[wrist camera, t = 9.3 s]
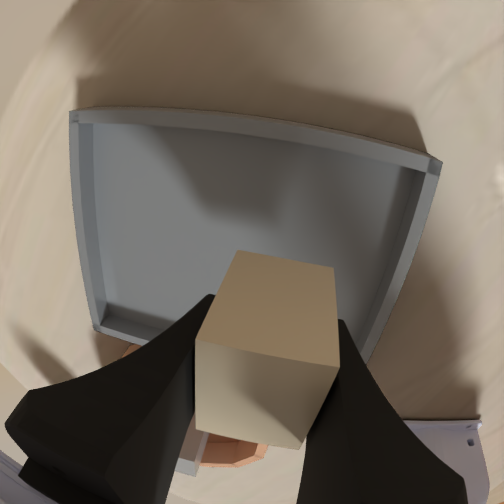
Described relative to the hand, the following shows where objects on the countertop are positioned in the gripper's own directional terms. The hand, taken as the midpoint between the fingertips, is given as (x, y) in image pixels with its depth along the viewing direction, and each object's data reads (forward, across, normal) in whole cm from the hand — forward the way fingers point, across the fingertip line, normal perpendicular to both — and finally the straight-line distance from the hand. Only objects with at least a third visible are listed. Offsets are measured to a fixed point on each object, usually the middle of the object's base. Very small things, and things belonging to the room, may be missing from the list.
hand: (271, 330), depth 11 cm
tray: (+6, +3, 0) cm, 6 cm away
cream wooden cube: (+1, 0, 0) cm, 1 cm away
